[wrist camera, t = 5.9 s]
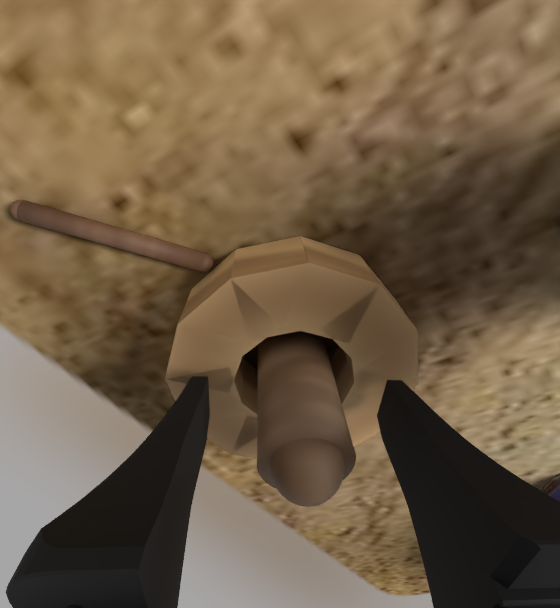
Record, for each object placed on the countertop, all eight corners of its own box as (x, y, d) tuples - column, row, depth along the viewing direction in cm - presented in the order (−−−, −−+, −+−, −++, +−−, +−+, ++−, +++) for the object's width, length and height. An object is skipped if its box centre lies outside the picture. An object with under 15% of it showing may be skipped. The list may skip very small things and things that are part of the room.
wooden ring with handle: (433, 278, 16) (467, 311, 13) (342, 429, 21) (354, 475, 18) (16, 144, 12) (-49, 153, 10) (21, 363, 17) (-23, 409, 14)
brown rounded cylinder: (322, 308, 16) (370, 461, 9) (321, 361, 18) (361, 525, 11) (255, 313, 16) (252, 469, 9) (260, 365, 18) (260, 533, 11)
